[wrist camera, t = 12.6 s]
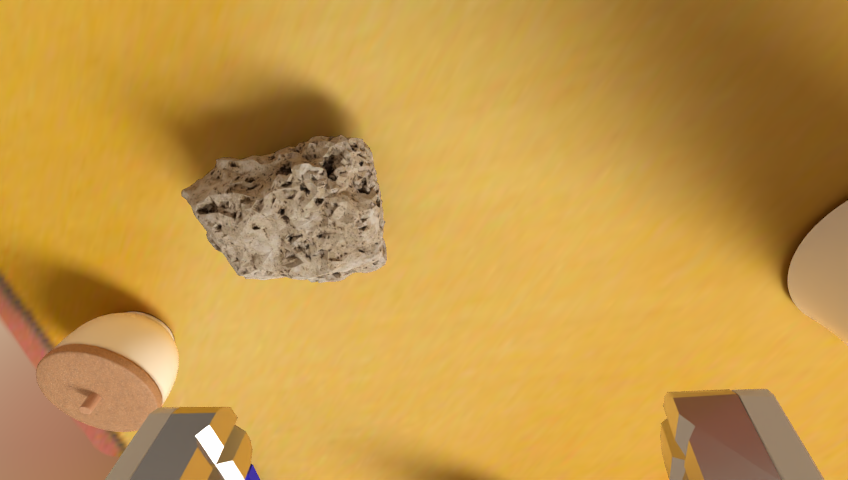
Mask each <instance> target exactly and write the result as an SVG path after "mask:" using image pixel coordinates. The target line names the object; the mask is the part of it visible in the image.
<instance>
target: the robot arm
mask: <svg viewBox="0 0 848 480" xmlns="http://www.w3.org/2000/svg"><path fill="white" fill-rule="evenodd" d="M788 290H789V293H790V296H791V298H792V300H793V302H794V304H795V305H796V306H797V307H798V309H799V310H801V311H802V312H803V313H804V314H805V315H807V316H808V317H810V318H812V319H813V320H815V321H816V322H818V323H819V324H821V325H822V326H824V327H825V328H827V329H828V330H829V331H831V332H832V333H833V334H835V335H836V336H837V337H838V338H840V339H841V340H842V341H843V342H844V343H845V344H846V345H847V346H848V201H846V202H844V203H843V204H841V205H840V206H838V207H837V208H836V209H834V210H833V211H832V212H830V213H829V214H828V215H827V216H825V217H824V218H823V219H822V220H821V221H820V222H819V223H818V224H817V225H816V226H815V227H814V228H813V229H812V230H811V231H810V232H809V233H808V234H807V236H806V237H805V238H804V239H803V241H802V242H801V244H800V245H799V247H798V249H797V250H796V252H795V254H794V256H793V258H792V261H791V264H790V267H789V271H788ZM663 407H664V410H665V413H666V416H667V419H666V420H665V421H663V422H662V423H661V434H660V437H661V448H662V454H663V459H664V463H665V467H666V470H667V473H668V477H669V480H824V478H823V477H822V475H821V473H820V471H819V470H818V468H817V466H816V465H815V463H814V461H813V460H812V458H811V456H810V455H809V453H808V451H807V450H806V448H805V446H804V445H803V443H802V441H801V440H800V438H799V436H798V435H797V433H796V431H795V430H794V428H793V426H792V425H791V423H790V421H789V420H788V418H787V416H786V415H785V413H784V411H783V410H782V408H781V406H780V405H779V403H778V401H777V400H776V398H775V396H774V395H773V394H772V393H771V392H770V391H769V390H767V389H745V390H729V389H725V390H703V391H681V392H667V394H666V395H665V398H664V405H663ZM237 418H238V417H237V416H236V415H235V413H234V412H233V410H232V409H231V407H165V408H157V409H156V410H154V411H153V412H151V413H150V414H149V415H148V417H147V418H146V420H145V421H144V423H143V424H142V426H141V427H140V429H139V430H138V432H137V433H136V435H135V436H134V437H133V439H132V440H131V442H130V443H129V445H128V446H127V448H126V449H125V451H124V452H123V454H122V455H121V457H120V458H119V460H118V461H117V463H116V464H115V466H114V467H113V468H112V470H111V472H110V473H109V474H108V476H107V477H106V479H105V480H245V478H246V475H247V473H248V470H249V468H250V465H251V457H252V446H251V441H250V438H249V436H248V435H247V433H246V431H244V430H242V429H241V428H239V427H238V426H236V425H235V423H236V420H237Z"/></svg>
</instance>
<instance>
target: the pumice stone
mask: <svg viewBox="0 0 848 480" xmlns="http://www.w3.org/2000/svg"><path fill="white" fill-rule="evenodd" d="M216 162H217V164H216V166H215V168H214V169H213V170H211V171H210V172H209V173H208V174H206V175H205V177H204V178H202V179H199V180H197V181H196V182H195V183H194V184H193V185H191V186H190V187H188V188H186V189H184V190H182V197H184V198H185V199H186V200H187V201H188V203H189V204H190V205H191V207H192V210H193V213H194V215H195V216H196V218H197V219H198V220H199V222H200V223H201V224H202V225H203V227H204V228H205V229H206V231H207V234H206V235H207V239H208V240H209V242H210V243H211V244H212V246H213V247H214V248H215V249H216V250H218V251H220V252H222V253H223V254H224V255H225V257H226V258H227V260H228V262H229V263H230V265H231V266H232V267H233V268H234V270H235V271H236V273H237V274H238V275H239V276H244V277H245V279H260V280H267V279H275V278H283V277H288V278H292V279H298V280H306V279H308V280H309V281H310V282H316V281H318V282H319V283H321V282H336V281H340V280H343V279H345V278H346V277H348V276H349V275H350V274H352V273H355V272H362V273H368V272H372V271H376V270H377V269H379V268H381V267H382V266H384V265H385V263H386V260H387V254H386V245H385V241H384V239H383V238H382V237H383V226H384V224H385V221H384V220H383V208H382V200H381V192H380V189H379V184H378V183H377V182H376V181H377V177H376V174H377V173H376V170H375V168H374V163H373V156H372V152H371V150H370V148H369V147H368V146H367V145H366V143H365V142H363V139H358V138H346V137H344V136H342V135H339V136H337V137H332V136H331V137H325V136H315V137H312V138H311V139H310V140H309V141H307V142H302V143H299V144H298V145H297V146H296V147H290V146H288V147H286V148H283V149H281V150H279V151H277V152H275V153H272V154H270V155H263V156H254V155H253V156H250V157H248V158H245V159H242V160H240V159H235V158H230V157H223V158H220V159H217V160H216Z"/></svg>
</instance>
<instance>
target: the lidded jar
mask: <svg viewBox="0 0 848 480" xmlns="http://www.w3.org/2000/svg"><path fill="white" fill-rule="evenodd" d="M178 367H179V355H178V350H177V347H176V344H175V340H174V336H173V334H172V332H171V330H170V329H169V328H168V327H167V326H166V325H165V324H164V323H163V322H162V321H160V320H159V319H157V318H156V317H154V316H151V315H149V314H146V313H142V312H137V311H130V312H125V313H112V314H107V315H103V316H100V317H97V318H95V319H92V320H90V321H88V322H86V323H84V324H83V325H81V326H80V327H78V328H77V329H76V330H74V331H73V332H72V333H71V334H69V335H68V336H67V337H66V338H64V339H63V340H62V341H61V342H60V343H59V344H58V345H57V346H56V347H55V348H54V349H53V350H51V351H50V352H49V353H48V354H46V355H45V356H44V357H43V359H42V360H41V361H40V362H39V364H38V366H37V369H36V378H37V383H38V385H39V387H40V389H41V391H42V392H43V394H44V395H45V396H46V397H47V398H48V400H49V401H50V402H51V403H53V404H54V405H55V406H56V407H57V408H58V409H60V410H61V411H63V412H64V413H66V414H67V415H69V416H70V417H72V418H74V419H76V420H78V421H80V422H83V423H85V424H87V425H90V426H93V427H96V428H100V429H104V430H109V431H118V432H128V431H136V430H139V429H140V427H141V426H142V424H143V423H144V421H145V420H146V418H147V417H148V415H149V414H150V413H151V412H153V411H154V410H156V409H157V408H162V405H163V404H164V402H165V400H166V399H167V397H168V395H169V393H170V392H171V389H172V387H173V385H174V382H175V379H176V376H177V373H178Z"/></svg>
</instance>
